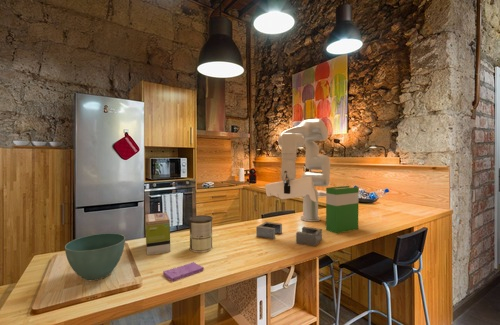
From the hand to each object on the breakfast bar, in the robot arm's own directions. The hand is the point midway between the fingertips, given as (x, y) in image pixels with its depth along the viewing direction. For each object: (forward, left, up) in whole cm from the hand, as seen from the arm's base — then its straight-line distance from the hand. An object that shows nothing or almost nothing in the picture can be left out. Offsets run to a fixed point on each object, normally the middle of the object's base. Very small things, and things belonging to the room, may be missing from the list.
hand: (289, 192), depth 132 cm
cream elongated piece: (0, +1, -4) cm, 4 cm away
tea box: (+43, -48, -24) cm, 68 cm away
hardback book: (-27, +22, -24) cm, 42 cm away
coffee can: (+34, -30, -24) cm, 51 cm away
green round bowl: (+72, -46, -24) cm, 88 cm away
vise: (+1, 0, -23) cm, 23 cm away
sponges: (+56, -20, -24) cm, 64 cm away
